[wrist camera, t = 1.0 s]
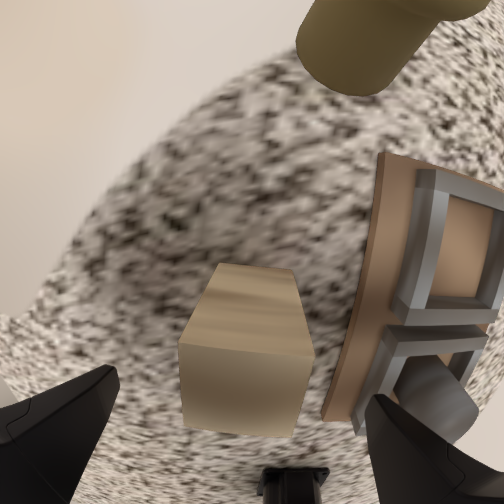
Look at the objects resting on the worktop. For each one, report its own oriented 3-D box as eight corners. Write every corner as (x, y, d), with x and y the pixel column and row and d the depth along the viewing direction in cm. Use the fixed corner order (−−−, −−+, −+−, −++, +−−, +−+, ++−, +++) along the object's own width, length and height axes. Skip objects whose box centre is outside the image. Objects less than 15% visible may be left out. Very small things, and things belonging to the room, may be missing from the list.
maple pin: (282, 332, 16) (291, 437, 9) (216, 325, 16) (183, 426, 9) (292, 269, 15) (315, 356, 8) (219, 262, 15) (177, 342, 8)
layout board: (443, 400, 18) (475, 452, 11) (320, 412, 18) (334, 487, 11) (510, 195, 13) (578, 210, 6) (378, 153, 13) (455, 141, 7)
